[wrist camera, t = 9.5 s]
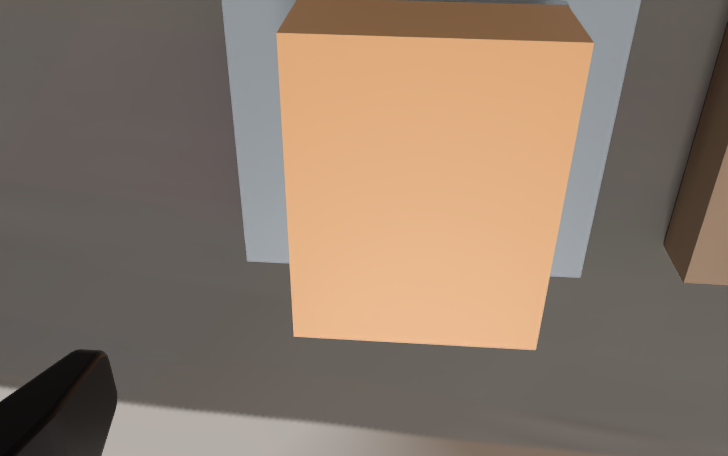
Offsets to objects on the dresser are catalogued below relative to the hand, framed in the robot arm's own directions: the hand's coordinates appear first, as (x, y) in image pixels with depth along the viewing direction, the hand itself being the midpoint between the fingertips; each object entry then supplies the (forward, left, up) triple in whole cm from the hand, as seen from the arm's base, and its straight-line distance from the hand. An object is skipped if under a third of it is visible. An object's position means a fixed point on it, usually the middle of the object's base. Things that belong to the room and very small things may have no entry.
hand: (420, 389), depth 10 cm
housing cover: (0, 0, -7) cm, 7 cm away
